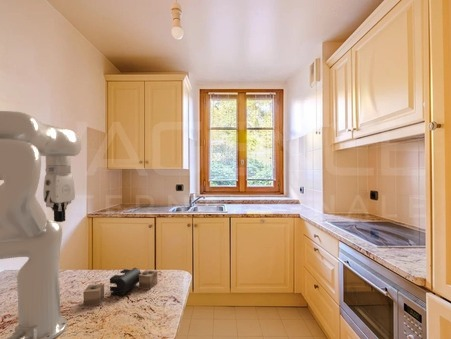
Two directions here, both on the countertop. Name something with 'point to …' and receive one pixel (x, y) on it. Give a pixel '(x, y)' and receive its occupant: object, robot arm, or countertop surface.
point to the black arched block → (124, 281)
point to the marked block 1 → (93, 295)
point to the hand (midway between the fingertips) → (59, 221)
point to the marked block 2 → (148, 279)
